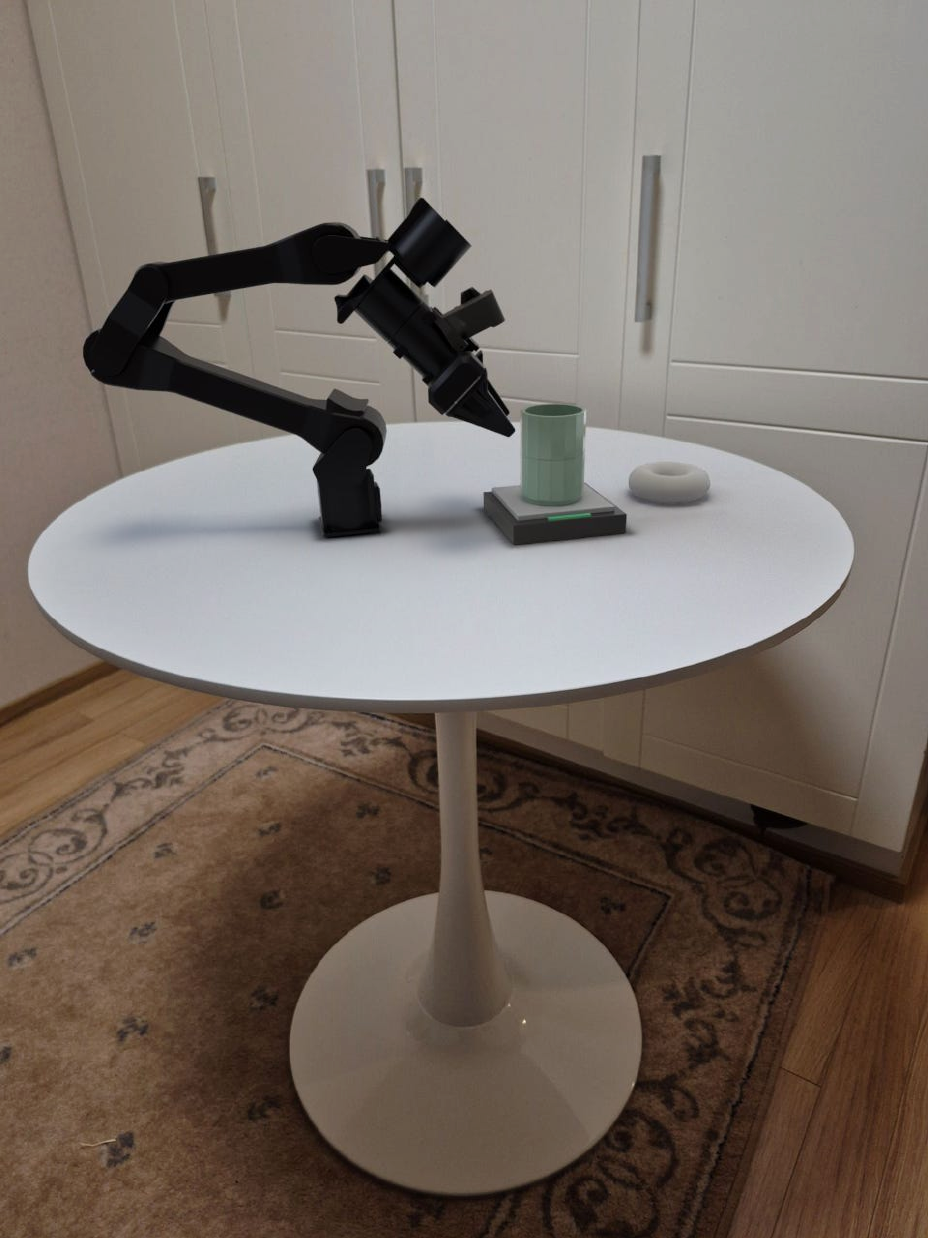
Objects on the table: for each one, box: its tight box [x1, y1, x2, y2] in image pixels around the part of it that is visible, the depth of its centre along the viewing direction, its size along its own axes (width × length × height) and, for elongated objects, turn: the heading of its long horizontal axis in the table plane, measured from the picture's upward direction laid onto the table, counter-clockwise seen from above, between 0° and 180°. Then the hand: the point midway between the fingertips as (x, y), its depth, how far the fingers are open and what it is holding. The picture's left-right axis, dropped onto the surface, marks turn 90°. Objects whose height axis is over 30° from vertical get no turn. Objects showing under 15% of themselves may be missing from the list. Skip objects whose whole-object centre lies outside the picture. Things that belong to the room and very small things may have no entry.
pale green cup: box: [519, 402, 587, 506], centre depth 97 cm, size 7×7×10 cm
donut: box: [628, 461, 711, 505], centre depth 107 cm, size 10×3×10 cm
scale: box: [482, 482, 628, 546], centre depth 99 cm, size 13×13×3 cm
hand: (509, 424), depth 95 cm, fingers open, 9 cm apart
